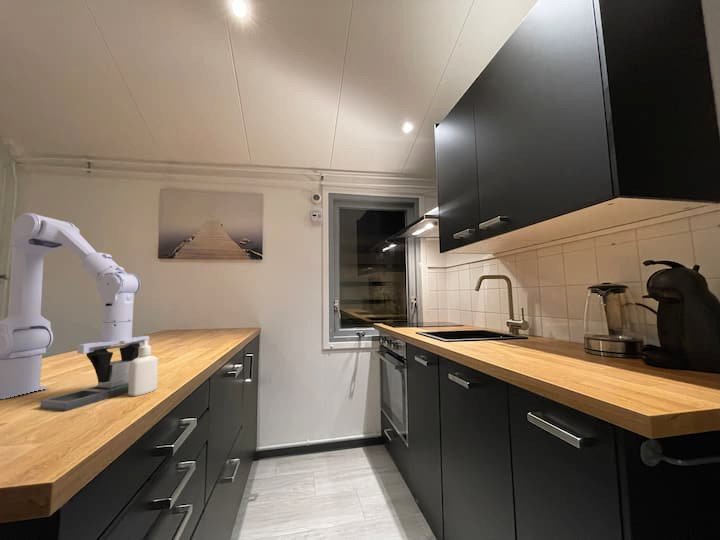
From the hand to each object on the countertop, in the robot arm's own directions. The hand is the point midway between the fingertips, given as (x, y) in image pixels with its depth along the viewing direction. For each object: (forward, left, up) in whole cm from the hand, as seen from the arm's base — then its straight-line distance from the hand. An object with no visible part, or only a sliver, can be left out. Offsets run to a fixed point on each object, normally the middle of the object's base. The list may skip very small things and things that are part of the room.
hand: (114, 378), depth 69 cm
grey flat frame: (0, -4, -3) cm, 5 cm away
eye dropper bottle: (+8, +1, -3) cm, 9 cm away
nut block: (0, 0, -2) cm, 2 cm away
